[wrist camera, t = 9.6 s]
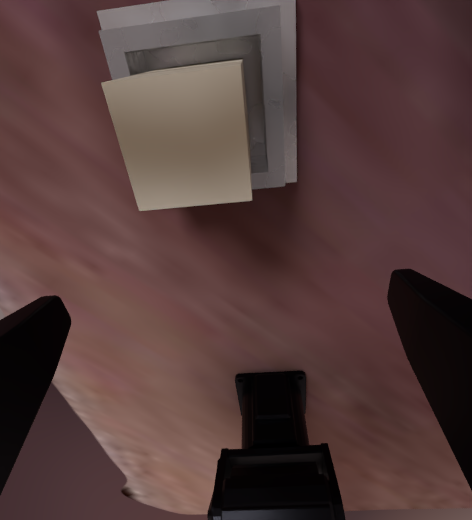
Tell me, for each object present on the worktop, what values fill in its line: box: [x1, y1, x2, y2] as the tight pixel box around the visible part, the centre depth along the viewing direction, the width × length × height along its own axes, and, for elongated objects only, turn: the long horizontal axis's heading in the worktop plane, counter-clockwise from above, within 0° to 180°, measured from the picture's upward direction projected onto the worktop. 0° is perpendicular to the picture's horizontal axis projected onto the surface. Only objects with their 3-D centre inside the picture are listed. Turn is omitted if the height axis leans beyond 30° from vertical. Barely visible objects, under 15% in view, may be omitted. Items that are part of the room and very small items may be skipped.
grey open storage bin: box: [97, 0, 297, 189], centre depth 16 cm, size 9×9×4 cm
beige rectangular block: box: [101, 58, 252, 211], centre depth 13 cm, size 4×4×8 cm
